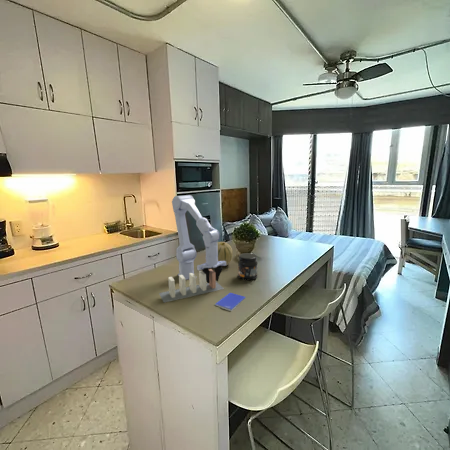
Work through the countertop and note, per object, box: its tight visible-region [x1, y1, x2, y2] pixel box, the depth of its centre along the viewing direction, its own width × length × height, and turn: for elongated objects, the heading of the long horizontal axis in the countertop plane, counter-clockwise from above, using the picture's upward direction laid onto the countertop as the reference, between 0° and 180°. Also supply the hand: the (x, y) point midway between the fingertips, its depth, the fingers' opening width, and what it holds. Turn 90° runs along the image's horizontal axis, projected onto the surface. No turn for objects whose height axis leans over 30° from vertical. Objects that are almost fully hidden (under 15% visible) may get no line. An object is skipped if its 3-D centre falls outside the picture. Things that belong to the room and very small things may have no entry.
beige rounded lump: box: [218, 241, 234, 266], centre depth 152 cm, size 15×15×15 cm
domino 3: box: [188, 273, 197, 293], centre depth 118 cm, size 5×2×8 cm, turn 26°
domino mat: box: [158, 281, 225, 303], centre depth 119 cm, size 10×29×1 cm, turn 116°
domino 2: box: [178, 275, 187, 295], centre depth 116 cm, size 5×2×8 cm, turn 26°
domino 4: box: [198, 270, 207, 291], centre depth 120 cm, size 5×2×8 cm, turn 26°
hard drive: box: [214, 292, 246, 312], centre depth 108 cm, size 2×8×12 cm
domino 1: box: [167, 276, 176, 298], centre depth 114 cm, size 5×2×8 cm, turn 26°
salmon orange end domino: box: [208, 268, 217, 288], centre depth 123 cm, size 5×2×8 cm, turn 25°
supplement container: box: [237, 252, 258, 281], centre depth 134 cm, size 10×10×12 cm
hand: (212, 281), depth 123 cm, fingers open, 4 cm apart
